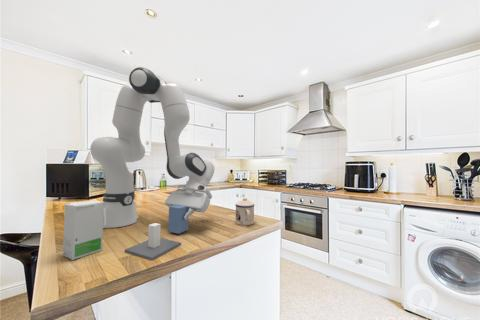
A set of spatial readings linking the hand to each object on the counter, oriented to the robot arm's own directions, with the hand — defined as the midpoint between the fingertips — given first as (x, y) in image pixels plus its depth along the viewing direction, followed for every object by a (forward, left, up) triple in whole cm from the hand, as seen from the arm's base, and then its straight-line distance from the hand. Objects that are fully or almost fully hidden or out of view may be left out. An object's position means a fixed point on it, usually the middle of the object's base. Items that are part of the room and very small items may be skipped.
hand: (177, 217), depth 80 cm
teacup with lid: (+19, +24, -6) cm, 31 cm away
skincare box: (-14, -26, -6) cm, 30 cm away
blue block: (0, +1, -5) cm, 5 cm away
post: (+3, -14, -6) cm, 16 cm away
